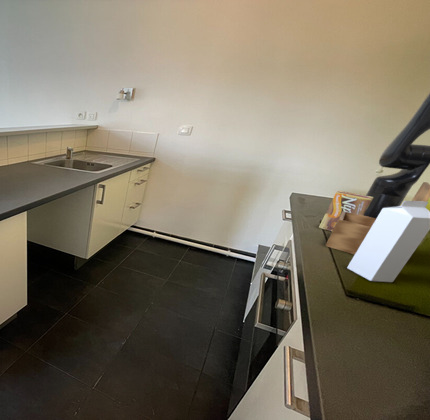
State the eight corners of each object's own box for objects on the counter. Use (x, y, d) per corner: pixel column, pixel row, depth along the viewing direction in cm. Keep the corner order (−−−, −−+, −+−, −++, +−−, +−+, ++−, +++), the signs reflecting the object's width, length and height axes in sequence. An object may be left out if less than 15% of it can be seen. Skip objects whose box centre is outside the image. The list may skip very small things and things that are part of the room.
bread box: (325, 246, 83) (339, 219, 79) (329, 234, 92) (342, 210, 88) (383, 263, 74) (402, 235, 70) (382, 249, 83) (399, 223, 79)
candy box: (352, 234, 93) (374, 196, 87) (350, 237, 91) (372, 198, 85) (320, 225, 100) (338, 190, 94) (317, 227, 97) (336, 191, 92)
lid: (429, 189, 66) (466, 194, 62) (423, 181, 74) (455, 186, 70) (401, 233, 71) (433, 240, 67) (398, 221, 79) (426, 227, 75)
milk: (346, 268, 71) (388, 196, 63) (367, 269, 71) (411, 197, 63) (371, 281, 65) (420, 204, 57) (393, 282, 65) (446, 205, 57)
